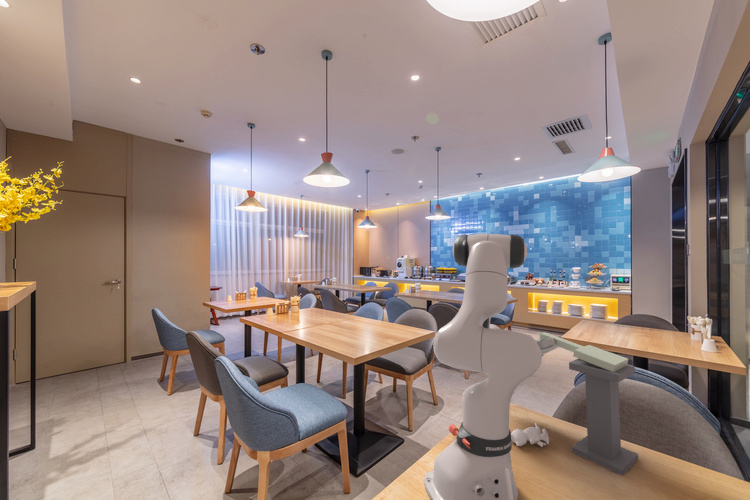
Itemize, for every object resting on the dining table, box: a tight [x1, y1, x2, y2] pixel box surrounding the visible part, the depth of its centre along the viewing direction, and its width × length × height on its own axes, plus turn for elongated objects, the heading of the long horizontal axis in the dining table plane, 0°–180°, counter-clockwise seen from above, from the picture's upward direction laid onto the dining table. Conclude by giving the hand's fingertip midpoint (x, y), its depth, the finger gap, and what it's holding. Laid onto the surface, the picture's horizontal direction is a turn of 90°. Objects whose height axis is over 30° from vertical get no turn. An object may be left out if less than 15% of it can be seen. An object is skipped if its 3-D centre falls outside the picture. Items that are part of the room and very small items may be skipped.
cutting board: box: [539, 332, 629, 372], centre depth 93 cm, size 10×22×2 cm, turn 34°
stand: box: [568, 358, 639, 477], centre depth 88 cm, size 12×12×26 cm
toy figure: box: [511, 422, 550, 448], centre depth 94 cm, size 11×5×12 cm
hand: (558, 339), depth 98 cm, fingers closed on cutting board, 3 cm apart
